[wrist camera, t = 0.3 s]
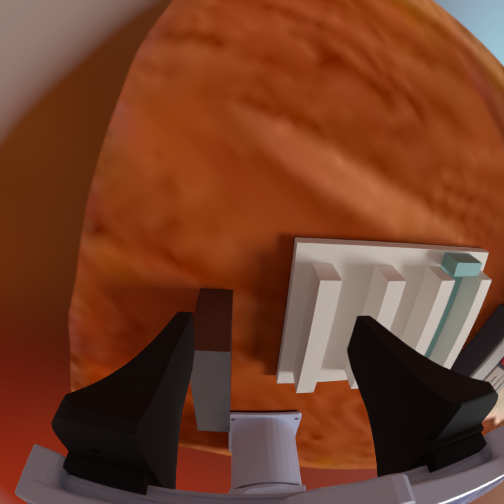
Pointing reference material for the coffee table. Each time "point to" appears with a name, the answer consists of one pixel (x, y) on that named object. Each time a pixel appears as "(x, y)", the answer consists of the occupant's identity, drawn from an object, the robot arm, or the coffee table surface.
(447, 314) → the rack
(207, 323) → the panel
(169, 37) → the coffee table surface
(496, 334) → the calculator
